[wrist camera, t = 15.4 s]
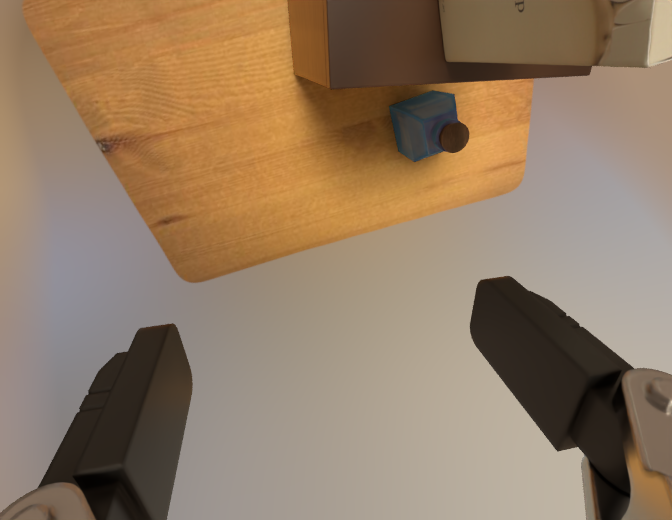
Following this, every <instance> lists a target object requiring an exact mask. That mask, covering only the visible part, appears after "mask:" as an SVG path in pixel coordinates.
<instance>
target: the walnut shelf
mask: <svg viewBox="0 0 672 520" xmlns="http://www.w3.org/2000/svg"><path fill="white" fill-rule="evenodd" d="M288 11H289V23H290V35H291V47H292V58H293V70H294V74H296V75H298V76H301V77H303V78H305V79H308V80H310V81H313V82H315V83H317V84H320V85H322V86H325V87H327V88H329V89H347V88H366V87H384V86H403V85H421V84H440V83H458V82H477V81H495V80H514V79H532V78H550V77H569V76H587V75H589V74H590V72H591V67H592V66H577V65H547V64H511V63H481V62H447V61H446V59H445V52H444V44H443V35H442V27H441V18H440V9H439V0H288Z"/></svg>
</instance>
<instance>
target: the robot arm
mask: <svg viewBox="0 0 672 520" xmlns="http://www.w3.org/2000/svg"><path fill="white" fill-rule="evenodd" d="M470 332H471V336H472V339H473V341H474V344H475V345H476V347H477V348H478V349H479V351H480V352H481V353H482V354H483V356H484V357H485V358H486V360H487V361H488V362H489V364H490V365H491V366H492V367H493V369H494V370H495V371H496V373H497V374H498V375H499V377H500V378H501V379H502V380H503V382H504V383H505V384H506V386H507V387H508V388H509V389H510V391H511V392H512V393H513V395H514V396H515V397H516V399H517V400H518V401H519V402H520V404H521V405H522V406H523V408H524V409H525V410H526V411H527V413H528V414H529V415H530V417H531V418H532V419H533V421H534V422H535V423H536V424H537V426H538V427H539V428H540V430H541V431H542V432H543V433H544V435H545V436H546V437H547V439H548V440H549V441H550V442H551V444H552V445H553V446H554V448H555V449H556V450H557V451H561V450H566V449H570V448H575V447H579V449H580V450H581V451H582V452H583V453H584V454H585V455H584V457H583V459H582V463H581V468H582V479H583V489H584V500H585V510H586V520H672V375H670V374H668V373H665V372H662V371H658V370H653V369H647V368H637V369H634V368H633V367H632V366H631V365H629V364H628V363H627V362H626V361H624V360H623V359H622V358H621V357H619V356H618V355H617V354H616V353H615V352H613V351H612V350H611V349H609V348H608V347H607V346H606V345H605V344H603V343H602V342H601V341H600V340H598V339H597V338H596V337H594V336H593V335H592V334H591V333H590V332H589V331H587V330H586V329H585V328H583V327H580V326H579V323H577V322H576V321H575V320H574V319H572V318H571V317H570V316H566V313H565V312H564V311H563V310H561V309H560V308H559V307H558V306H556V305H555V304H554V303H553V302H551V301H550V300H548V299H545V298H544V297H542V296H540V295H538V294H535V293H533V292H531V291H528V290H527V289H525V288H524V287H523V286H522V285H521V284H520V283H518V282H517V281H516V280H515V279H513V278H512V277H510V276H504V277H497V278H490V279H484V280H481V281H480V282H479V283H478V285H477V288H476V294H475V300H474V305H473V310H472V316H471V322H470ZM191 395H192V374H191V369H190V366H189V362H188V359H187V356H186V353H185V350H184V347H183V344H182V341H181V338H180V335H179V332H178V329H177V327H176V325H175V324H166V325H159V326H152V327H146V328H140V329H139V330H138V331H137V333H136V335H135V337H134V339H133V341H132V344H131V346H130V348H129V351H128V352H122V353H117V354H116V355H115V356H114V357H112V359H111V360H109V361H108V363H106V364H105V365H104V366H103V367H102V368H101V369H100V371H99V372H98V373H97V375H96V377H95V379H94V381H93V383H92V385H91V387H90V389H89V394H88V395H86V396H85V398H84V401H83V402H82V404H81V406H80V408H79V409H80V412H78V413H77V414H76V416H75V418H74V420H73V422H72V423H71V425H70V427H69V429H68V431H67V433H66V435H65V437H64V439H63V441H62V443H61V445H60V447H59V448H58V450H57V452H56V454H55V456H54V459H53V460H52V462H51V464H50V466H49V468H48V470H47V472H46V474H45V475H44V477H43V479H42V481H41V483H40V485H39V486H38V488H37V489H35V490H33V491H31V492H29V493H27V494H25V495H24V496H23V497H20V498H19V499H18V500H16V501H15V502H13V503H12V504H11V505H9V506H8V507H7V508H6V509H5V510H3V511H2V512H1V513H0V520H167V515H168V510H169V505H170V500H171V495H172V490H173V485H174V480H175V475H176V470H177V465H178V460H179V455H180V450H181V445H182V440H183V435H184V430H185V425H186V420H187V415H188V410H189V405H190V400H191Z"/></svg>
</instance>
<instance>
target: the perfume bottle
mask: <svg viewBox="0 0 672 520" xmlns="http://www.w3.org/2000/svg"><path fill="white" fill-rule="evenodd" d="M389 109H390V114H391V119H392V123H393V128H394V133H395V138H396V142H397V147H398V151H399V152H400V153H402V154H403V155H405V156H406V157H408V158H409V159H411V160H412V161H414V162H416V161H418V160H421V159H424V158H427V157H430V156H432V155H435V154H438V153H441V152H443V151H445V152H450V153H456V152H458V151H460V150H462V149H463V148H464V147H465V146H466V144H467V142H468V139H469V130H468V128H467V127H466V125H464V124H463V123H461V122H460V121H458V119H457V111H456V103H455V96H454V94H450V93H445V92H439V91H430V92H427V93H425V94H422V95H419V96H416V97H413V98H411V99H408V100H405V101H402V102H400V103H397V104H394V105H391V106H389Z"/></svg>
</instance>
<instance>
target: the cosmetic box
mask: <svg viewBox="0 0 672 520" xmlns="http://www.w3.org/2000/svg"><path fill="white" fill-rule="evenodd" d="M439 9H440V18H441V27H442V35H443V44H444V52H445V59H446V61H447V62H481V63H511V64H547V65H577V66H610V67H642V68H648V67H652V66H656V65H658V64H662V63H665V62H667V61H670V60H672V0H439Z"/></svg>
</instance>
